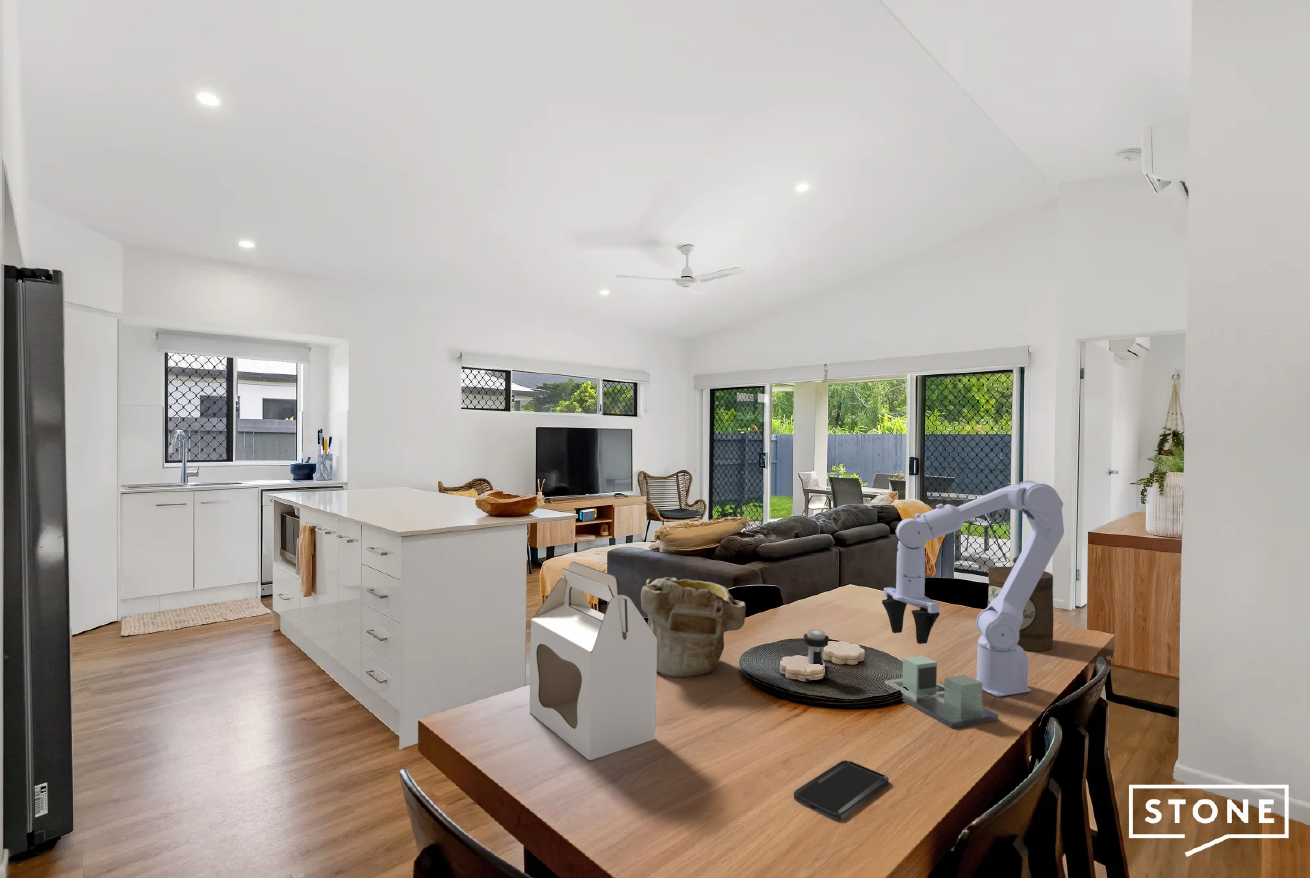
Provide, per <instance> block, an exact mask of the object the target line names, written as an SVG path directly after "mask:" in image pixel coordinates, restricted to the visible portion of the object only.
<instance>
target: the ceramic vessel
mask: <svg viewBox="0 0 1310 878" xmlns="http://www.w3.org/2000/svg"><path fill="white" fill-rule="evenodd" d="M645 583H646V585H644V586H642V588H641V591H640V601H641V610H642V611H643V612H644V613H645V614H646V615H647V625H648V626H649V628H650V629H651V631H652V632H653V634H654V635H655V637H657V672H658V673H660V674H662V675H664V676H668V677H674V678H686V677H692V676H697V675H698V676H699V675H703V674H704V675H705V674H709V673H713V672H714V670H715V669H716V667H717V665H718V663H719V661H720V659H721V657H722V654H723V651H724V649H725V640H724V639H725V637H724V634H725V632H730V631H732V632H733V631H738V630H740V629H742V628H743V626H744V625H745V620H746V612H747V607H746V606H747V605H746V602H744V601H741V600H737V599H734V597H733V596H732V595H731V593H730V592H729V589H728V588H726V587H725V586H724V585H721V584H718V583H715V582H712V581H702V580H693V579H687V578H683V579H679V580H678V579H677V577H669V576H665V577H663V578H656V579H655V580H653V581H652V579H651V578H648V579H647V580H646V581H645Z"/></svg>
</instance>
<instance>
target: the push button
mask: <svg viewBox="0 0 1310 878" xmlns="http://www.w3.org/2000/svg"><path fill="white" fill-rule="evenodd" d="M803 639H804V644H806V645H807V647H808V656H807V658H808V659H807V660H808V663H809V664H820V665H825V661H824V652H825V651H824V650H825V649H824V648H825V647H827V646H828V645H829V641H830V637H829V636H828V635H826V633H825V631H823V630H820V629H809V630H808V631H807V633H804V634H803ZM808 663H807V664H808ZM828 670H829V667H828V666H827V665H825V677H828V674H829V673H828Z"/></svg>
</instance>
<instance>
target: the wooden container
mask: <svg viewBox="0 0 1310 878" xmlns="http://www.w3.org/2000/svg"><path fill="white" fill-rule="evenodd" d="M1019 556H1020V555H1018V556H1016V557H1013V559H1012V563H1014V564H1013V565H1011V566H991V567H989V568H988V595H987V596H988V598H987V607H988V606H989V604H990V602H991V601H992V600H993V599H995V598H996V597H997V596H998V595H999V593H1000V591H1001V590H1002V588H1003V586H1004V584H1005V582H1006V580H1007V578H1008V576H1009V574H1010V573H1011V571H1012V569H1013V567H1014V565H1015V563H1016V561H1017V559H1018V557H1019ZM1017 645H1019V646H1020V647H1022V648H1023V650H1024V651H1030V652H1031V651H1032V652H1041V651H1048V650H1051V649H1052V648H1053V646H1054V574H1052V573H1051V572H1048V571H1045V570H1044V572H1043V574H1042V576H1041V578H1040V579H1039V581H1038V583H1037V585H1036V587H1035V589H1034V591H1033V593H1032V594H1031V596H1030V598H1029V600H1028V602H1027V604H1026V606H1025V607H1024V609H1023V622H1022V624H1021V626H1020V630H1019V641H1018V643H1017Z"/></svg>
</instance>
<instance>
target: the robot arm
mask: <svg viewBox="0 0 1310 878" xmlns="http://www.w3.org/2000/svg"><path fill="white" fill-rule="evenodd" d="M1063 506H1064V502H1063V500H1062V499H1061V497H1060V495H1059V493H1058V491H1057V490H1056V489H1055V488H1054V487H1053V486H1051V485H1049V484H1046V483H1039V482H1036V481H1035V480H1034V481H1033V480H1023V481H1021V482H1019V483H1017V484H1010V485H1007V486H1005V487H1004V486H1003V487H1001V488H999V489H996V490H994V491H991V492H990V493H989V492H988V493H987V494H985V495H983V496H980V497H977V498H975V499H973V500H971V501H969V502H965V503H964V504H961V505H959V506H954V505H952V504H948V503H947V504H945V505H944V504H943V503H939V504H937V505H935V507H936V508H935V509H932V510H930V511H927V512H923V513H921V514H920V513H919V512H918V513H915V514H914V517H915V518H911V517H910V518H909V517H908V518H905V519H902V520H901V521H900V522H899V523H898V524H897V526H896V529H895V534H896V535H895V536H896V537H897V539H898V541H897V542H898V544H897V552H896V578H895V579H896V582H895V588H894V587H891V586H890V587H889V586H888V587H884V588H883V597H885V598H886V599H882V600H881V604H882V606H883V607H884V609H885V612H886V614H887V616H888V620H889V623H890V624H889V625H890V628H891V632H892V634H898V633H899V634H901V633H902V632H903V627H904V618H905V617H904V616H905V613H906V608H907V605H910V606H913V607H916V608H918V609H913V610H912V609H911V614H912V616H913V620H914V624H915V638H916V643H917V644H919V645H922V644H927V643H928V640H929V637H930V633H931V631H932V628H933V626H934V624H935V622H936V621H937V619H938V618H939V617H940V611H939V610H940V609H939V608H940V603H939V602H936V601H934V600H933V599H930V597H928V596H926V595H925V594H926V593H925V591H926V590H925V583H926V576H925V575H926V553H925V548H926V547H925V546H926V544H927V542H928V541H929V540H935V539H938V538H941V537H943V536H946V535H948V534H951V533H954V532H957V531H959V530H961V528H962V527H963V525H964V522H966V521H969V520H971V519H975V518H977V517H981V516H982V515H983V516H984V515H987V514H990V513H992V512H996V511H999V510H1002V509H1007V510H1008V509H1009V510H1016V511H1021V512H1022V513H1023V514H1024V515H1025V517H1026V518H1027V521H1028V522H1029V524H1030V527H1031V529H1032V532H1031V533H1030V535H1029V537H1028V539H1027V541H1026V543H1025V545H1024V546H1023V548H1022V550H1021V552H1020V553H1019V555H1018V556H1019V557H1018V559H1017V561H1016V563H1014V564H1015V565H1014V564H1013V565H1014V567H1013V569H1012V571H1011V573H1010V574H1009V576H1008V578H1007V580H1006V582H1005V584H1004V586H1003V588H1002V590H1001V591H1000V593H999V595H998V596H997V597H996V598H995V599H993V600H992V601H991V602H990V604H989V606H988V605H987V607H986V608H985V609H983V610H982V611H980V612H979V613H978V615H977V617H976V621H975V623H976V627H977V629H978V631H979V632H980V634H981V635H980V637H978V639H977V651H976V652H977V654H976V655H977V656H976V657H977V659H976V678H975V679H976V680H978V681H980V682H982V691H983V692H985V693H989V694H991V695H992V696H993V697H1006V696H1009V695H1010V696H1012V695H1018V694H1023V693H1029V692H1031V691H1032V689H1031V687H1028V681H1029V679H1028V678H1029V677H1028V676H1029V673H1028V672H1029V658H1028V654H1027V653H1026V650H1023V648H1022V647H1020V646H1019V645H1017V643H1018V641H1019V630H1020V626H1021V624H1022V622H1023V609H1024V607H1025V606H1026V604H1027V602H1028V600H1029V598H1030V596H1031V594H1032V593H1033V591H1034V589H1035V587H1036V585H1037V583H1038V581H1039V579H1040V578H1041V576H1042V574H1043V572H1044V571H1045V570H1046V569H1047V566H1048V564H1049V562H1050V561H1051V558H1052V557H1053V555H1054V553H1055V551H1056V549H1057V548H1058V546H1059V544H1060V542H1061V541H1062V538H1063V536H1064V533H1065V527H1064V518H1063Z"/></svg>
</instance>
